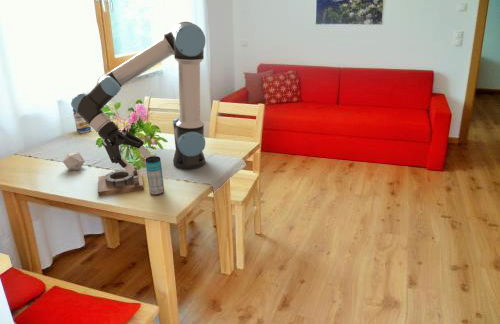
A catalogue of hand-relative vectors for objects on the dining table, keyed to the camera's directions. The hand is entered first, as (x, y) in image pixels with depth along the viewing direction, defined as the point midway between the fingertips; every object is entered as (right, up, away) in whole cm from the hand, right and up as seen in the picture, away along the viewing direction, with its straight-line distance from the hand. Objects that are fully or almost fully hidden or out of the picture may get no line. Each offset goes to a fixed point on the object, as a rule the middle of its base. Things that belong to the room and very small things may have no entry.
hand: (142, 165), depth 166 cm
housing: (-12, -8, +12) cm, 19 cm away
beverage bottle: (-56, +20, +82) cm, 102 cm away
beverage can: (+5, -11, +4) cm, 13 cm away
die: (-39, -2, +29) cm, 49 cm away
